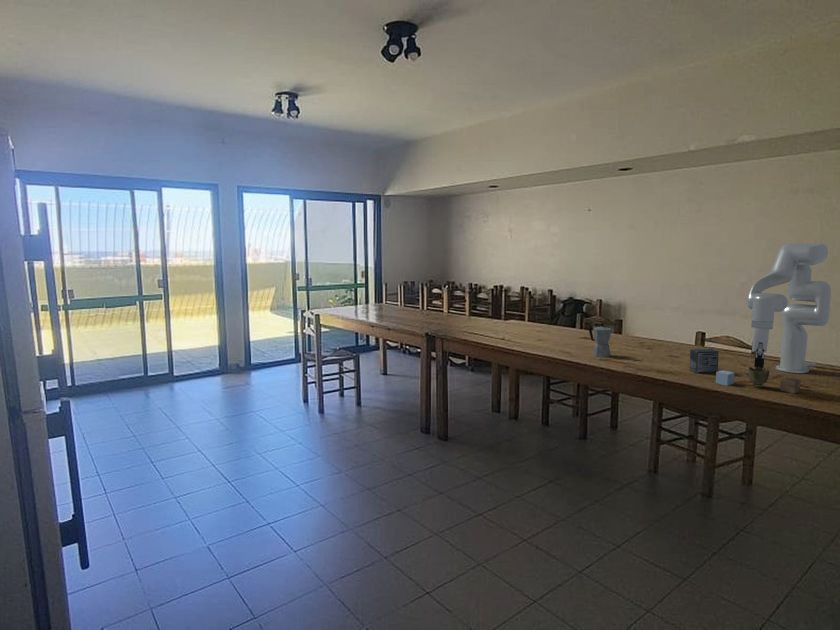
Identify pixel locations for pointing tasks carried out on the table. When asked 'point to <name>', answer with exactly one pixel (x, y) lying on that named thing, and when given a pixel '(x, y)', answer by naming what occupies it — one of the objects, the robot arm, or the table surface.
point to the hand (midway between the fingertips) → (759, 365)
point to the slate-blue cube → (725, 377)
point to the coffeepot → (601, 340)
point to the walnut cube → (790, 385)
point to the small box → (704, 360)
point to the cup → (758, 376)
